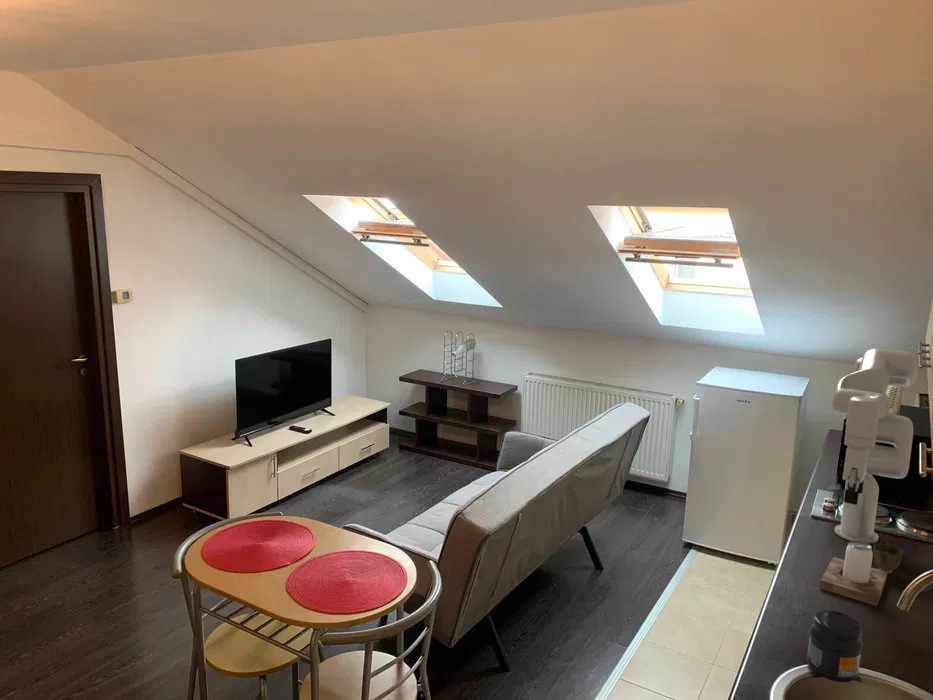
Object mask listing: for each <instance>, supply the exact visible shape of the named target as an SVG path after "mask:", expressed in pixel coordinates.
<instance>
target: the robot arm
mask: <svg viewBox="0 0 933 700" xmlns="http://www.w3.org/2000/svg"><path fill="white" fill-rule="evenodd" d="M917 377H918V361H917V358H916V356H915V355H914V353H912V352H910V351H907V350H900V349H899V350H898V349H888V348H887V349H886V348H871V349H869V350H867V351H865V353H863V355H862V357H860V358H858V359H856V361H855V363H854V367H853V372H852V373H850V374H847V375H846V376H843V377H842V378H841V379H840V380H838V382H837V384H836V386H835V389H834V391H833V396H832V400H831V402H832V403H831V405H832V409H833V410H834V411H835V412H837V413H838V414H841V415H846V423H845V432H844V433H845V434H844V442H843V444H844V445H845V446H847V447H846V451H845V459H844V464H843V465H844V466H843V471H842V472H843V473H842V480H843V481H845V484H844V485H845V487H844V493H843V494H844V495H843V503H842V511H841V521H840V524H838V525H836V526H834V532H835V534H837V536H839V537H841V538H843V539H844V540H846V541H849V542H850V541H861V542H864V543H867V544H875V542H877V543H878V541H879V535H878V533H876V532H875V523H876V517H877V508H878V500H879V493H880V488H879V484H878V481H876V479H875V478H874V476H880V477H884V478H885V477H886V478H892V479H900V480H901V479H904V478H906V476H907V475H908V473H909V469H910V461H911V454H912V445H913V438H914V423H913V422H912V420H911V419H910V418H909V417H907V416H903V415H900V414H899V415H898V414H890V413H889V412H890V409H891V400H890V398H889V396H888V394H887V393H886V391H885V389H886V388H887V387H888V386H895V387H902V388H903V387H905V388H908V387H911V386H913V385H914V384H915V382H916V380H917ZM877 442H878V443H883V444H889V445H893V447H889V446H886V445H885V446H884V445H880V444H876V443H877ZM873 475H874V476H873Z"/></svg>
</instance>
